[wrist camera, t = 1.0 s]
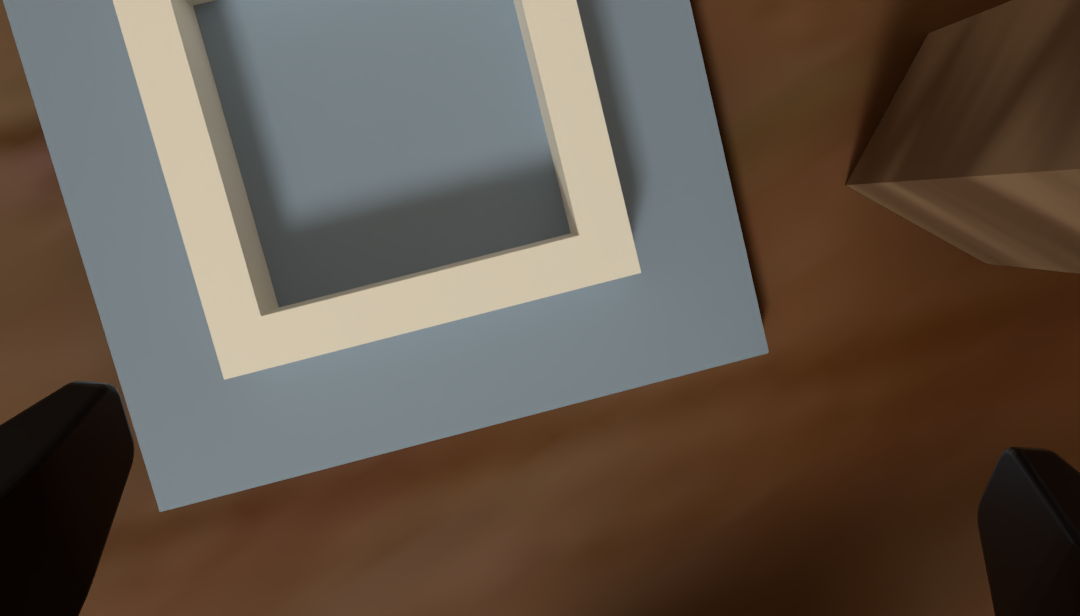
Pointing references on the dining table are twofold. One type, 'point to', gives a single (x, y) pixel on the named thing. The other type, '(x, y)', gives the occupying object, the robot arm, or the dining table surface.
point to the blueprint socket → (384, 216)
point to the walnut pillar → (988, 137)
